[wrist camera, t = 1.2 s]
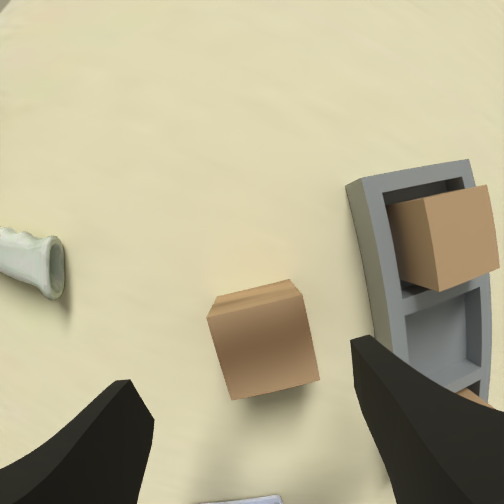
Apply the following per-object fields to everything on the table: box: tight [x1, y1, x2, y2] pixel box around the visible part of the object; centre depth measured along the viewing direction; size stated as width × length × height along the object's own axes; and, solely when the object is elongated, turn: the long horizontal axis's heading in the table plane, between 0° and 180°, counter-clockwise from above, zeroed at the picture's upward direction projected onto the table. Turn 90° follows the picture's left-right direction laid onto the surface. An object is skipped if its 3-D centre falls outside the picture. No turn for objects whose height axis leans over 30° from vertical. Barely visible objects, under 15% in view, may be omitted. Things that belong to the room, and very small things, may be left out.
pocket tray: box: [345, 159, 500, 409], centre depth 17 cm, size 22×8×6 cm, turn 14°
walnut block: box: [207, 279, 320, 400], centre depth 17 cm, size 4×4×5 cm
